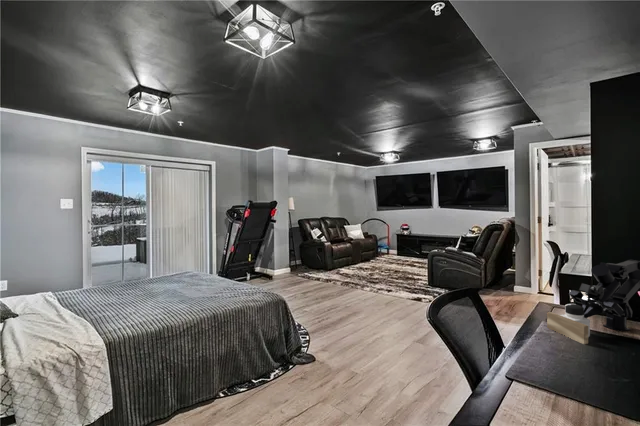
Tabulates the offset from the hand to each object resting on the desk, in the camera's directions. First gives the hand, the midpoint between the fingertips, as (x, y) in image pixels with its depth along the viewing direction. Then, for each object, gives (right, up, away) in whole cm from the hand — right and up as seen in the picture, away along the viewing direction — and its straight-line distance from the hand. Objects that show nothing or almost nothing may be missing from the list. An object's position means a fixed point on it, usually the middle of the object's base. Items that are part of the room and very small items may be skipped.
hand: (582, 317), depth 131 cm
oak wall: (-8, -7, -2) cm, 11 cm away
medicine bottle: (-4, -7, 0) cm, 8 cm away
